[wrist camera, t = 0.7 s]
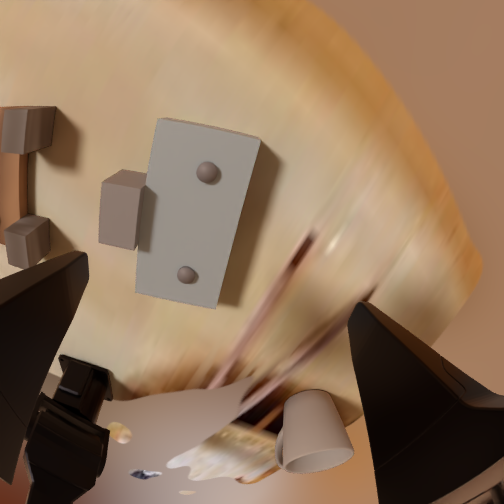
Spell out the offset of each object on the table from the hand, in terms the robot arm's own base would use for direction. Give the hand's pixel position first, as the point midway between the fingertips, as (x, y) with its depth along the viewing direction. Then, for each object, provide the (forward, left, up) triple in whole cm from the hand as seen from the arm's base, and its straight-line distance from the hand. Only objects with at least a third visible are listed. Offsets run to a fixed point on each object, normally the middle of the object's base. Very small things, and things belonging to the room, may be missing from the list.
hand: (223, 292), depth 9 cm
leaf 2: (-2, +3, -12) cm, 12 cm away
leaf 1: (-2, +18, -12) cm, 22 cm away
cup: (-23, -14, -12) cm, 29 cm away
